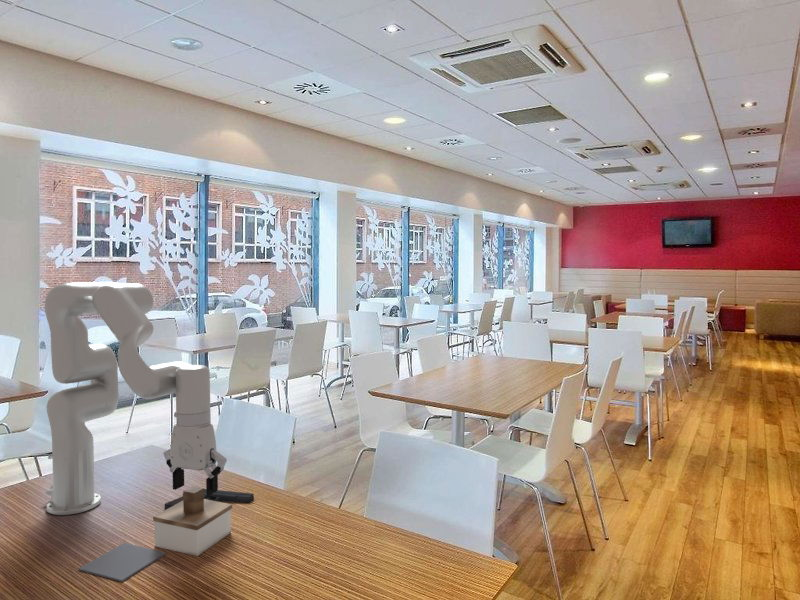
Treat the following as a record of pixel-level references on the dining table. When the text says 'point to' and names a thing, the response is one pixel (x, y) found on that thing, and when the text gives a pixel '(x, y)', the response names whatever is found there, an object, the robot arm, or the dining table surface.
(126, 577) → the mat
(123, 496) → the dining table surface
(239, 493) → the handgun
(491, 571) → the dining table surface
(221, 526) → the box
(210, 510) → the lid
